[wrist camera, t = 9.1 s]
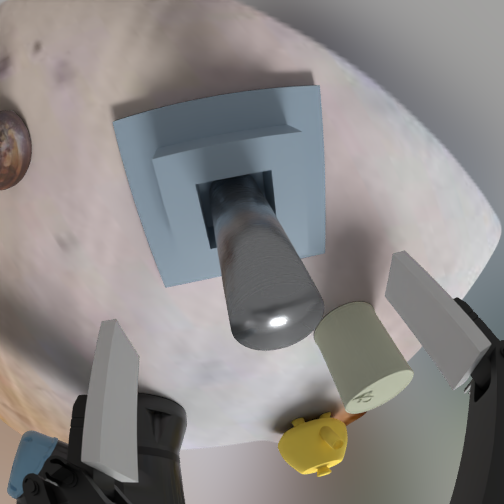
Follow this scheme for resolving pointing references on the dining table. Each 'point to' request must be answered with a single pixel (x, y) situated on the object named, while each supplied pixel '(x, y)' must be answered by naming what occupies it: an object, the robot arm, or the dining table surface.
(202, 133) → the socket block
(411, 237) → the dining table surface
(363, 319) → the can
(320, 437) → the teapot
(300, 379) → the dining table surface
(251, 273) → the peg
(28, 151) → the mortar and pestle
